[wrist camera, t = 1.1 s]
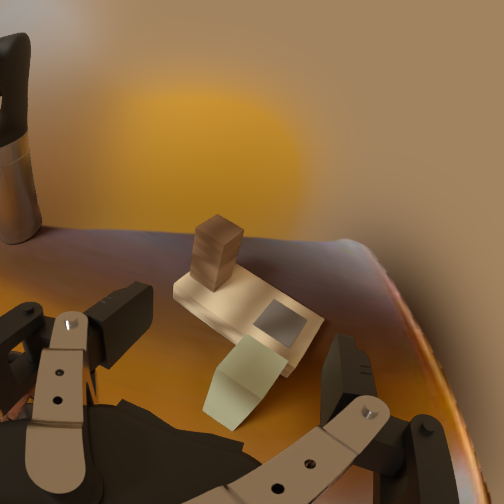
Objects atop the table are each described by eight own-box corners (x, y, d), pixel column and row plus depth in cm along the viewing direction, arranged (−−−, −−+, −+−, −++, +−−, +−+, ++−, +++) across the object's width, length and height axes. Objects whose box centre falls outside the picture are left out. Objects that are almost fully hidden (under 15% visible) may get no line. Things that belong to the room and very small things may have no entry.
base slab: (173, 298, 37) (177, 235, 30) (213, 264, 44) (226, 204, 37) (286, 378, 32) (325, 331, 25) (315, 331, 39) (352, 279, 32)
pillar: (202, 410, 27) (216, 367, 19) (223, 385, 30) (246, 333, 22) (232, 431, 26) (262, 399, 18) (252, 405, 29) (288, 360, 21)
